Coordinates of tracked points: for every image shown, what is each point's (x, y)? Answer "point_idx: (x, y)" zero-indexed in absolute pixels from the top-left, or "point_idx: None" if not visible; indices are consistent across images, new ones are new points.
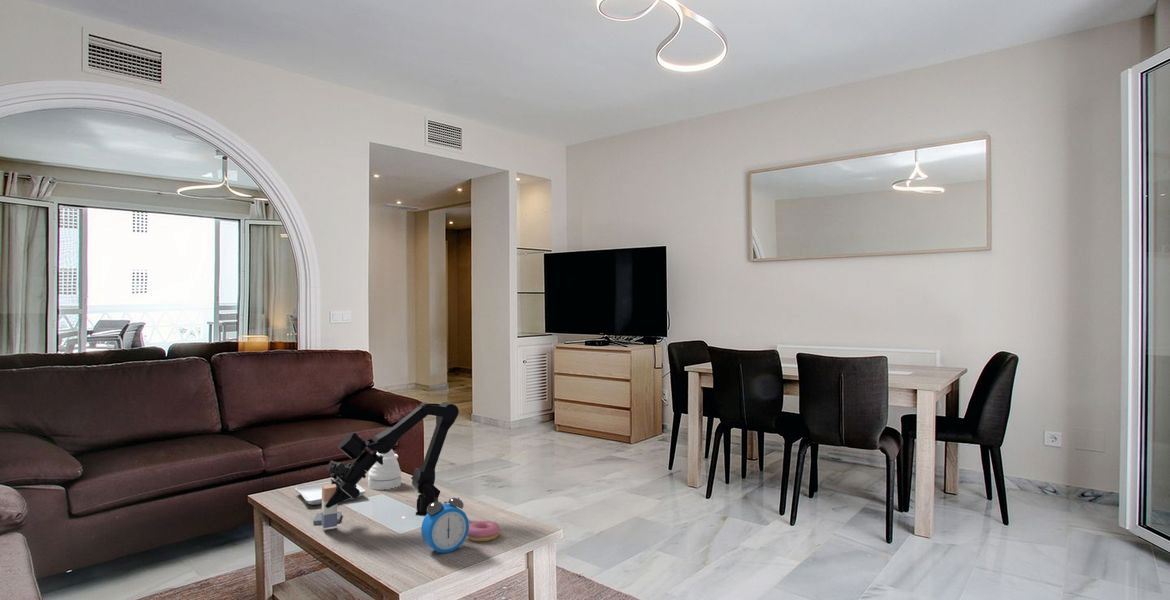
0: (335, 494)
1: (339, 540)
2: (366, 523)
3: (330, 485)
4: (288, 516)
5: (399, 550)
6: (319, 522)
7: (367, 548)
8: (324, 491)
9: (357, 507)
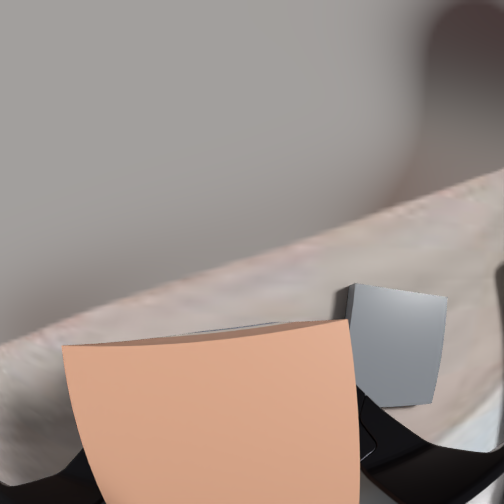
0: (77, 456)
1: None
2: None
3: (279, 492)
4: (453, 198)
5: (10, 466)
6: (348, 313)
7: (21, 420)
8: (89, 344)
9: (465, 437)
